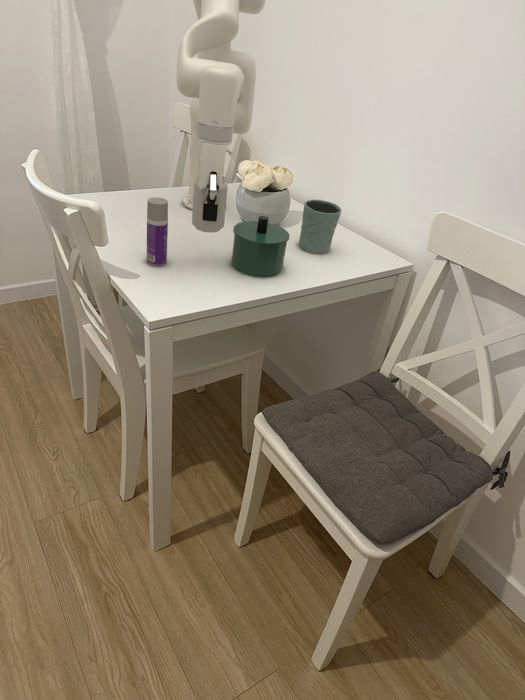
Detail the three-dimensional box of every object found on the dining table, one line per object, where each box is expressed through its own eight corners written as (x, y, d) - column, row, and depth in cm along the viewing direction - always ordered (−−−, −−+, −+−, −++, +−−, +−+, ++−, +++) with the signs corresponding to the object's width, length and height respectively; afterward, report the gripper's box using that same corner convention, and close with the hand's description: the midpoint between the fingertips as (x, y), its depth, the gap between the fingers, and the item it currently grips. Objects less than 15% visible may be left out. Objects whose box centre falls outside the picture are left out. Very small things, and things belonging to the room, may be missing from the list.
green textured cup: (306, 237, 147) (314, 196, 141) (338, 248, 144) (347, 207, 137) (290, 247, 140) (297, 204, 133) (323, 259, 136) (332, 215, 130)
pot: (233, 275, 121) (237, 242, 116) (230, 253, 131) (233, 221, 126) (285, 278, 123) (291, 246, 119) (277, 256, 133) (282, 225, 129)
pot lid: (235, 245, 116) (237, 226, 114) (230, 223, 127) (232, 205, 125) (293, 249, 119) (296, 230, 116) (283, 227, 130) (286, 210, 127)
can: (218, 236, 116) (223, 183, 109) (187, 229, 116) (190, 176, 109) (227, 225, 122) (232, 174, 115) (197, 219, 122) (200, 168, 116)
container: (167, 266, 120) (169, 204, 112) (147, 266, 119) (148, 204, 110) (165, 258, 124) (166, 197, 115) (145, 258, 122) (145, 196, 114)
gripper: (196, 122, 114) (191, 200, 123) (198, 141, 100) (192, 227, 109) (229, 126, 115) (222, 202, 125) (236, 145, 101) (227, 229, 111)
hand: (208, 213), depth 117 cm, fingers closed on can, 7 cm apart
